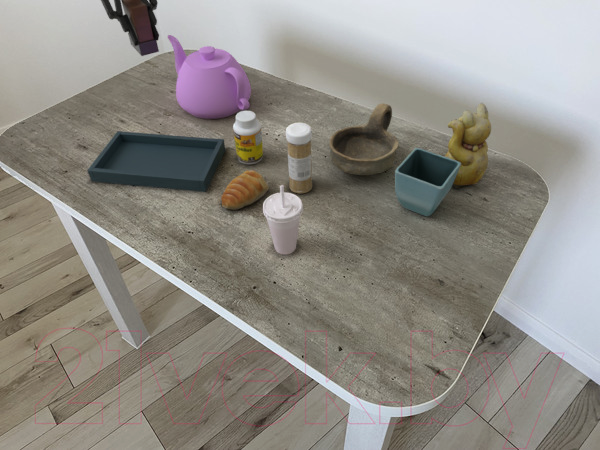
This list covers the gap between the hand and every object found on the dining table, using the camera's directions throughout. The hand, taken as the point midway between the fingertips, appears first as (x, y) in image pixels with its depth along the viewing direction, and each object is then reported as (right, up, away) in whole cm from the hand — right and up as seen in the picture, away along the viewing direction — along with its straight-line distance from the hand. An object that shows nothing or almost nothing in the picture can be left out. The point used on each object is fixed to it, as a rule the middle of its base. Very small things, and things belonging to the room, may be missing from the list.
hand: (146, 40), depth 115 cm
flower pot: (+59, -40, -25) cm, 76 cm away
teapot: (+15, -14, +3) cm, 21 cm away
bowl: (+50, -31, -15) cm, 61 cm away
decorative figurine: (+68, -35, -20) cm, 79 cm away
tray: (+8, -32, -15) cm, 36 cm away
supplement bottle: (+26, -30, -13) cm, 42 cm away
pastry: (+26, -39, -22) cm, 52 cm away
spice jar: (+37, -37, -21) cm, 56 cm away
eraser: (-2, 0, +5) cm, 5 cm away
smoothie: (+34, -48, -32) cm, 67 cm away
